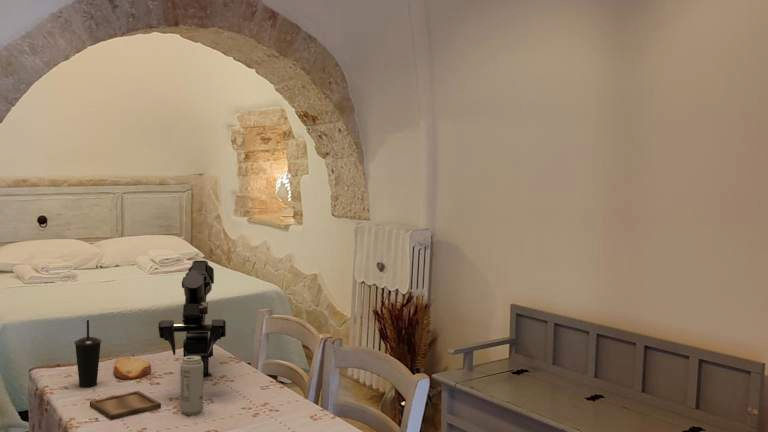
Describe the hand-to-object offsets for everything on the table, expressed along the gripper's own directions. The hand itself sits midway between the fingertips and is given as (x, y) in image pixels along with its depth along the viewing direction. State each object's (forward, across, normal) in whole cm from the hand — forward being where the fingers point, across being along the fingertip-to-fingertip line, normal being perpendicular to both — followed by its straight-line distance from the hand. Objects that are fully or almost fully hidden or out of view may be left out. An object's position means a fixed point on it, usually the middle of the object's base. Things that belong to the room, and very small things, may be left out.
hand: (190, 354), depth 198 cm
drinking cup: (-4, -32, +24) cm, 40 cm away
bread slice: (-15, -22, +34) cm, 43 cm away
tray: (+11, -17, +9) cm, 22 cm away
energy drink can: (+16, +1, +5) cm, 16 cm away
